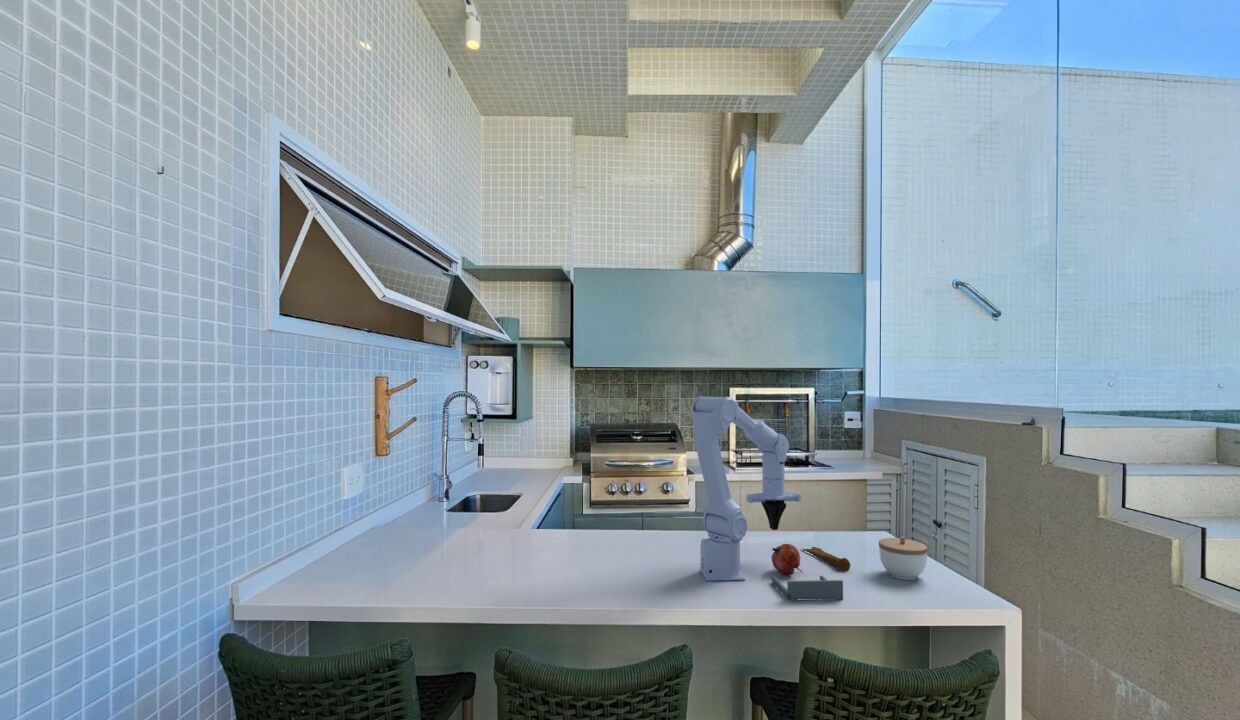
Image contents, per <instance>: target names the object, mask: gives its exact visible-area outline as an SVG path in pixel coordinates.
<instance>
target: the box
mask: <svg viewBox="0 0 1240 720" xmlns="http://www.w3.org/2000/svg"><path fill="white" fill-rule="evenodd" d="M786 583H787V585H786V586H784V584H783V583H781V581H780V580H779V579H778V578H777V577H776V576H774V575H773V576H772V577H771V584H772V585H774V587H777V588H778V589H779V590H780V591H781V592H782V593H783V594H782V593H781V592H780V591H779V590H778V589H777V588H776V589H777V590H778V591H779V592H780V593H781V594H782V595H783V596H784V597H785V599H786V600H787V601H788V600H789V601H799V600H798V599H825V600H824V601H830V600H829V599H843V600H844V581H843V580H842V579H827V578H826V577H825V576H823V575H819V579H816V580H815V579H814V580H813V579H812V580H786ZM826 599H828V600H826Z"/></svg>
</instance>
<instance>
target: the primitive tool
mask: <svg viewBox="0 0 1240 720" xmlns="http://www.w3.org/2000/svg"><path fill="white" fill-rule="evenodd" d="M811 548H812V549H803V548H802V549H803V550H805V551H807V552H809V553H811V554H813V555H814V556H816V557H818V558H820V559H822V560H824V561H826V562H825V563H827V562H828V563H827V564H829V563H830V564H829V565H831V564H832V565H831V566H833V567H835V568H837V570H838V571H839V572H848V571H849V570H850V569H851V562H850V561H849V559H847V558H845V557H842V558H840V557H837V556H835V555H833V554H830V553H828V552H825V551H824V550H823V549H821V548H820V547H816V546H812V547H811ZM814 556H813V557H814ZM816 557H815V558H816ZM818 558H817V559H818ZM820 559H819V560H820ZM822 560H821V561H822ZM824 561H823V562H824Z"/></svg>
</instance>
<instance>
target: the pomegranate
mask: <svg viewBox="0 0 1240 720" xmlns="http://www.w3.org/2000/svg"><path fill="white" fill-rule="evenodd" d="M771 551H773V553H772V555H771V563H772V566H773V567H774V569H776V570H777V571H778V572H779V573H780V574H782V575H784V576H791V575H793V574H794V573H795V569H796V570H799V572H801V571H802V569H800V568H799V567H800V565H801V555H800V554H801V553H800V551H799V550H798V548H797V547H796V546H794V545H793V544H790V543H783V544H781V545H778V546H776V548H775V547H772V550H771Z"/></svg>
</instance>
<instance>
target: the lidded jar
mask: <svg viewBox="0 0 1240 720" xmlns="http://www.w3.org/2000/svg"><path fill="white" fill-rule="evenodd" d="M878 546H879V559H880V562H881V564H882V566H883V568H884V569H885V570H886V572H888V574H889V575H890V577H893V578H895V579H898V580H904V581H914V580H918V579H917V578H918V577H919V576H920V575H922V574H923V573H924V572H925V569H926V567H927V566H926V565H927V561H928V546H927V545H926V544H924V543H922V542H919V541H918V540H913V539H908V538H906V537H905V536H900V537H899V538H898V537H886V538H881V539H879V540H878Z"/></svg>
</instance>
